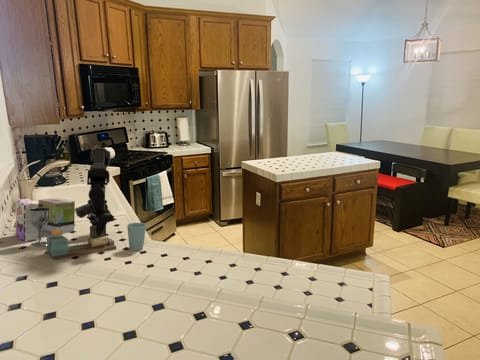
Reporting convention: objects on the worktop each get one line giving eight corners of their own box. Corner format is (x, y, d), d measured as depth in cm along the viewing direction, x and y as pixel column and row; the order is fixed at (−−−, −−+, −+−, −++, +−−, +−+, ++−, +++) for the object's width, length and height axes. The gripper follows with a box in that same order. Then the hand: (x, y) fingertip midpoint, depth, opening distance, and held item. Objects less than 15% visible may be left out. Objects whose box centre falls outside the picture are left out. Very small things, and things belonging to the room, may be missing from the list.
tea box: (75, 231, 174) (75, 201, 172) (55, 235, 165) (55, 203, 164) (57, 225, 182) (57, 196, 180) (37, 229, 173) (37, 199, 171)
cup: (142, 245, 157) (143, 222, 156) (147, 250, 150) (148, 226, 149) (125, 247, 153) (125, 223, 152) (129, 252, 146) (129, 227, 145)
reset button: (50, 233, 138) (50, 230, 138) (60, 232, 140) (60, 229, 140) (53, 236, 135) (53, 232, 135) (63, 234, 138) (63, 231, 137)
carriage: (86, 243, 149) (86, 225, 149) (101, 241, 154) (101, 223, 153) (93, 248, 144) (93, 228, 144) (107, 245, 149) (108, 226, 148)
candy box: (15, 235, 161) (14, 199, 160) (29, 233, 166) (29, 198, 164) (24, 242, 152) (23, 204, 150) (39, 240, 156) (39, 203, 154)
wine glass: (35, 248, 145) (35, 211, 144) (25, 244, 149) (24, 208, 148) (54, 243, 152) (54, 209, 150) (44, 240, 156) (43, 206, 154)
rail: (46, 252, 141) (46, 235, 140) (106, 243, 157) (106, 227, 156) (54, 259, 133) (54, 241, 133) (116, 249, 150) (116, 232, 149)
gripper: (69, 195, 148) (69, 232, 150) (86, 202, 135) (85, 243, 136) (96, 193, 156) (96, 228, 157) (114, 200, 142) (114, 239, 144)
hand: (97, 234), depth 149 cm, fingers closed on carriage, 3 cm apart
